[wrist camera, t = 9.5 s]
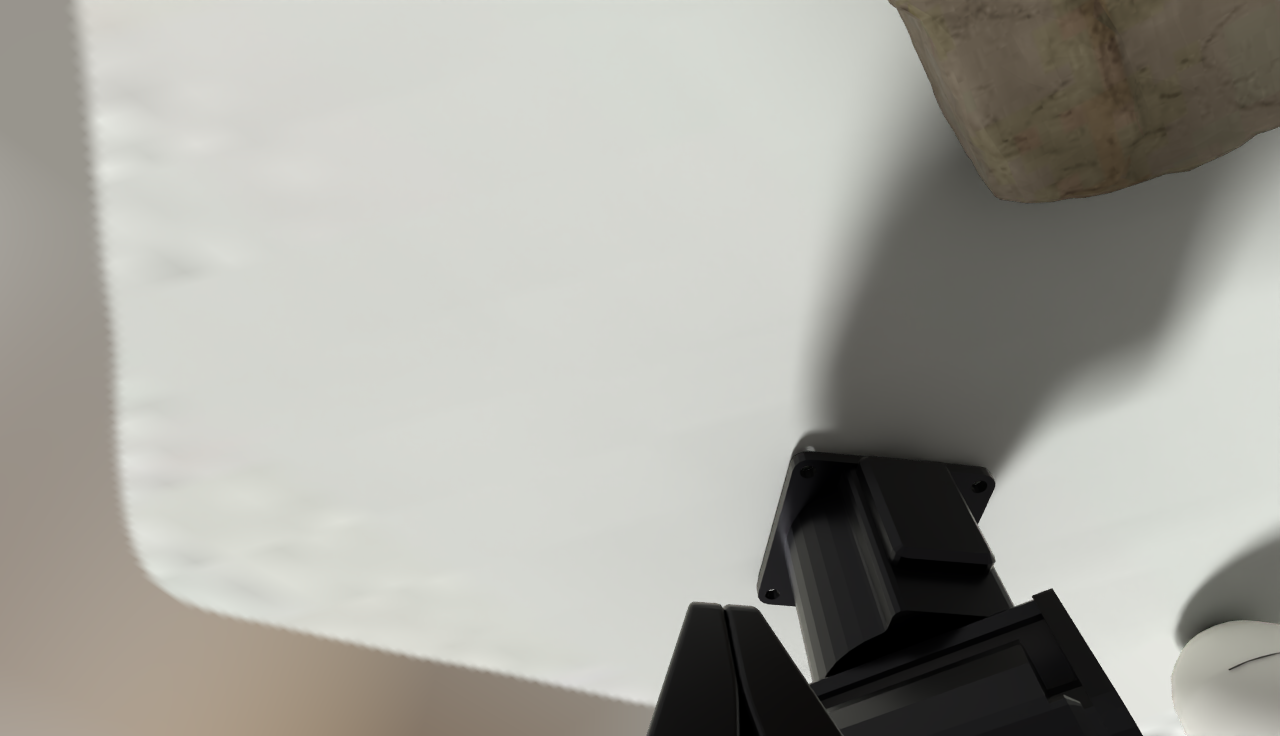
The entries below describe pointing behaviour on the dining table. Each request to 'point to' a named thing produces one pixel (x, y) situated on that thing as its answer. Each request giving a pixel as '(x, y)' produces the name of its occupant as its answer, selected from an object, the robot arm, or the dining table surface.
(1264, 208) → the dining table surface
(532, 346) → the dining table surface
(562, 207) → the dining table surface
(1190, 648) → the seamed sphere
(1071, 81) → the marble piece
